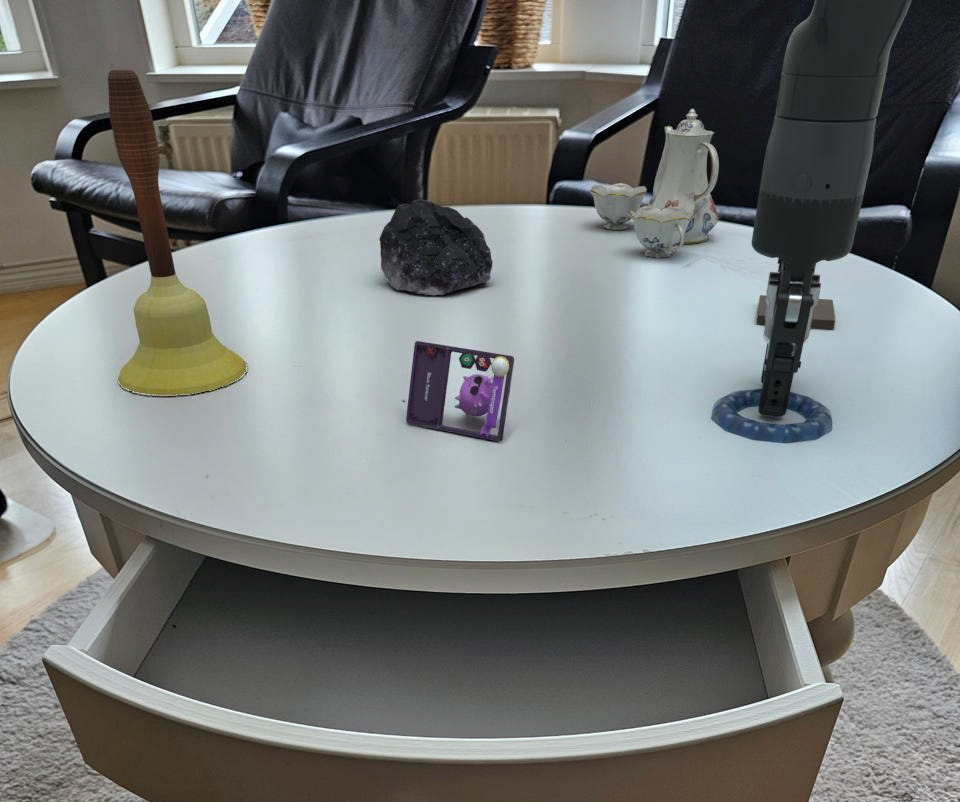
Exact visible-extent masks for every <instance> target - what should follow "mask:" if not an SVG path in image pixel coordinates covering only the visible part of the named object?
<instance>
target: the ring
mask: <svg viewBox="0 0 960 802" xmlns="http://www.w3.org/2000/svg"><path fill="white" fill-rule="evenodd" d="M761 391H762V387H761V388H751V389H742V390H736V391H732V392H731V393H728V394H727V395H724V396H722V397H720V398H719V399H717V400H716V401H715V402H714V404H713V406H712V410H711V417H710V419H711V421H712V422H713V423H715V424H716V425H717V426H719V427H720V428H721V429H722V430H723V431H725V432H727V433H730V434H733V435H736V436H739V437H741V438H745V439H748V440H752V441H755V442H757V441H758V442H767V443H778V444H794V443H801V442H811V441H816V440H819V439H820V438H822V437H823V436H825V435H828V434H829V433H830V432H832V431H833V415H832V412H831V410H830V409H829V408H828V407H827V406H825V405H824V404H823V403H822V402H820V401H818V400H816V399H815V398H813V397H811V396H808V395H804V394H801V393H798V392H794V391H790V395H789V400H788V405H787V410H789V411H793V412H796V413H797V414H799V415H800V416H802V417H803V418H805V421H802V422H793V423H786V424H784V423H783V424H781V423H772V422H771V423H770V422H762V421H759V420H758V421H757V420H755V419H751V418H748V417H745V416H742V415H741V414H739V413H738V412H740V411H742V410H744V409H747V408H753V407H759V402H760V397H761Z"/></svg>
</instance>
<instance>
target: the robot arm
mask: <svg viewBox="0 0 960 802" xmlns="http://www.w3.org/2000/svg"><path fill="white" fill-rule="evenodd" d="M912 1H913V0H814V3H813V6H812V9H811V12H810V14H809V15H808V17H807V18H806V19H804V20H803V21H801V22H800V23H799V24H798V25H796V27H795V28H794V29H793V30H792V32H791V35H790V36H789V39H788V42H787V45H786V49H785V53H784V57H783V63H782V68H781V75H780V82H779V87H778V88H779V89H778V92H777V93H778V94H777V100H776V107H775V115H774V119H773V123H772V128H771V131H770V135H769V138H768V141H767V144H766V149H765V155H764V161H763V167H762V172H761V173H762V174H761V179H760V186H759V192H758V198H757V205H756V210H755V211H756V212H755V216H754V217H755V218H754V223H753V229H752V238H751V247H752V248H753V250H754V251H755V252H756V253H757V254H759V255H761V256H764V257H766V258H770V259H775V258H776V259H777V258H778V259H777V265H778V268H777V271H769V275H768V280H767V286H766V303H767V307H766V314H765V320H766V322H765V325H764V329H763V335H762V337H763V340H764V341H765V342H766V343H767V344H766V349H765V354H764V359H763V364H762V371H761V377H760V382H761V384H762V386H761V388H762V391H761V397H760V402H759V406H758V413H759V415H761V416H767V417H775V418H782V417H783V416H785V415H786V413H787V412H788V411H787V410H788V409H787V405H788V400H789V395H790V392H791V390H792V386H793V379H794V376H795V375H794V374H797V373H798V372H799V369H800V368H801V366H802V360H801V359H802V353H803V348H804V344H806V342H807V341H808V339H809V337H810V333H811V328H810V327H811V321H812V315H813V309H814V307H815V306H816V304H817V302H818V299H820V293H821V288H822V287H821V286H822V283H821V282H820V280H821V274H815V273H814V274H813V270H814V266H815V264H816V265H817V263H820V262H822V261H826V262H832V261H837V260H840V259H843V258H844V257H847V256H848V255H849V253H850V252H851V251H852V249H853V245H854V241H855V235H856V231H857V226H858V222H859V218H860V213H861V207H862V204H863V199H864V194H865V190H866V185H867V180H868V176H869V171H870V167H871V163H872V158H873V152H874V141H875V132H876V131H875V130H876V123H877V118H876V117H877V116H878V114H879V108H880V104H881V100H882V95H883V91H884V85H885V81H886V77H887V73H888V72H887V71H888V66H889V58H890V53H891V49H892V46H893V44H894V41H895V40H896V37H897V34H898V32H899V31H900V28H901V26H902V23H904V19H905V17H906V16H907V13H908V11H909V8H910V6H911V3H912Z"/></svg>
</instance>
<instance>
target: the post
mask: <svg viewBox="0 0 960 802" xmlns="http://www.w3.org/2000/svg"><path fill="white" fill-rule="evenodd" d="M816 267H817V263H816V264H815V266H814V270H813V274H815V272H816ZM766 296H767V294H766V295H765V294H764V295H763V294H760V295H759V298H758V303H757V304H758V305H757V313H756V322H755V324H756V325H762V326H765V322H766V320H765V314H766V307H767V303H766ZM835 324H836V316H835V307H834V300H833V299H828V298H819V299H818V302H817V304H816V306H815V307H814V309H813V315H812V321H811V327H810V329H819V330H831V331H833V330H834V328H835Z"/></svg>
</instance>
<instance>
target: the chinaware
mask: <svg viewBox="0 0 960 802" xmlns="http://www.w3.org/2000/svg"><path fill="white" fill-rule="evenodd" d="M698 115H699V114H697V113H696V110H695V109H694V108H690V110H689V111H688V113H687V114H686V115H685V117H686V119H683V120H681V121H680V122H679V124H678V125H677V126H676V129H673V127H672V126H671V125H668V126H664V133H665V141H664V147H663V151H662V154H661V157H660V160H659V164H658V168H657V171H656V174H655V179H654V184H653V189H652V190H653V191H652V196H651V198H650V199H649V201H648V203H647V204H646V205H644V206H641V205H642V202H643V199H644V198H645V196H646V194H647V191H648V188H647V187H646V186H645V185H641V186H640V185H639V186H637V187H633V186H631V185H630V184H627V183H623V182H619V183H613V184H612V185H610V186H604V185H602V184H594V185H593V186H592V187H591V189H590V191H589V192H590V194H591V195H592V198H593V202H594V203H593V204H594V207H595V210H596V213H597V215H598V216H599V217H600V218H601V219H602V221H604V222H606V223H607V224H604V225H603V228H605V229H607V230H620V231H622V230H625V229H628V228H629V225H626V223H627V222H629V221H631V220H632V222H633V229H634V233H635V236H636V238H637V240H638V242H639V243H640V244H641V246H643V247H644V248H646V249H647V250H646V251H645V254H644V255H645V257H651V258H657V259H658V258H666V257H667V258H668V257H670V256H671V254H672V251H674V252H679V251H680V250H682V248H683V245H694V244H701V243H703V242H706V241H707V240H708V238H709V237H708V234H709V233H710V232H711V231H712V230H713V229H714V228H715V227H716V225H717V224H718V222H719V218H720V217H719V213H718V210H717V207H716V204H715V202H714V199H713V198H712V195H711V192H712V191H713V190H714V188H715V186H716V185H717V181H718V177H719V170H720V167H719V166H720V162H719V161H720V160H719V156H718V152H717V150H716V148H715V147H714V145H713V144H712V143H711V141H712V137H713V135H714V134H715V131H712V130H707V129H705V126H704V124H703V122H702V121H701V120H700V119H697V117H698ZM708 154H709V155H710V159H711V174H710V178H709V182H708V174H707V173H708V171H707V170H708V169H707V163H708V161H707V160H708ZM677 245H678V247H677V248H676V247H675V246H677Z"/></svg>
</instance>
